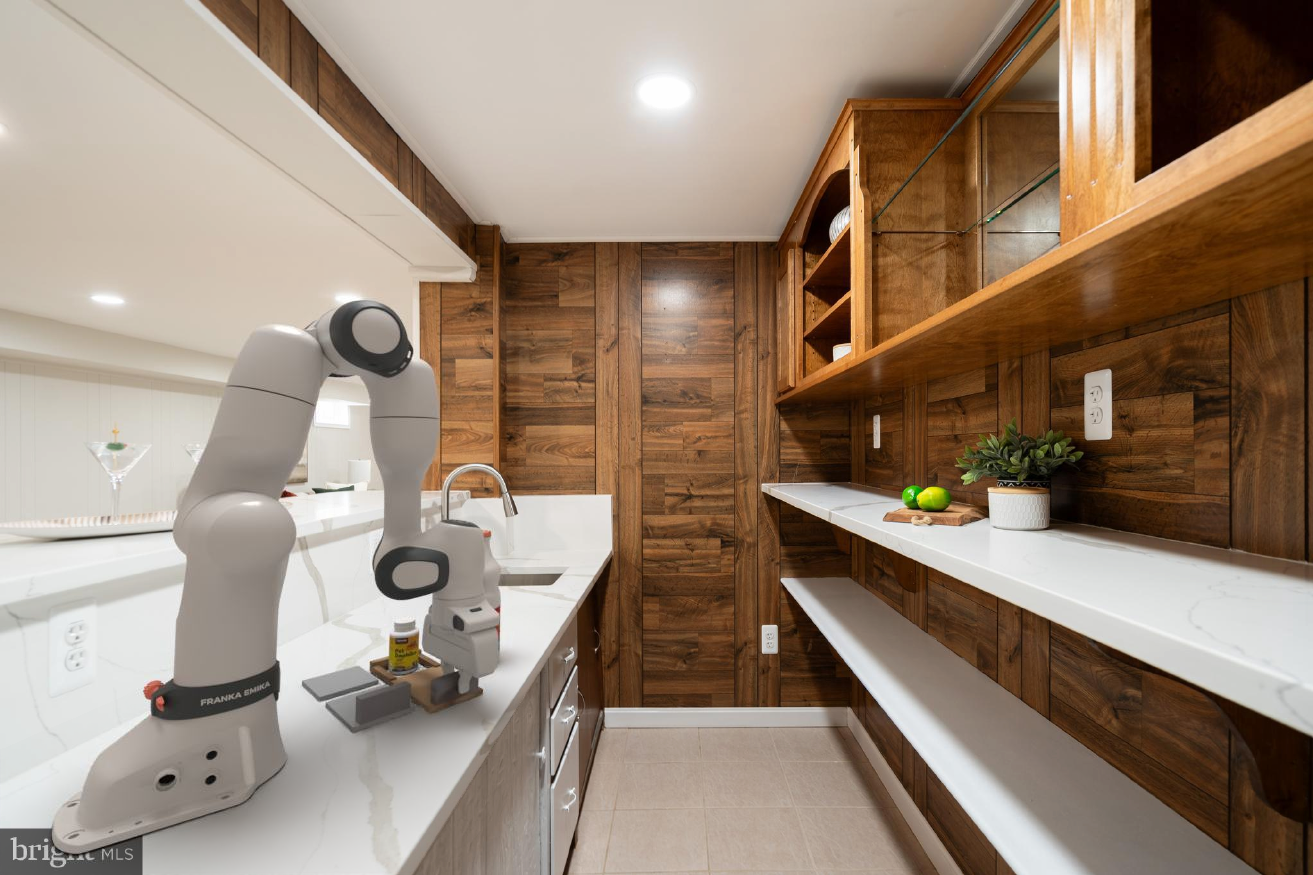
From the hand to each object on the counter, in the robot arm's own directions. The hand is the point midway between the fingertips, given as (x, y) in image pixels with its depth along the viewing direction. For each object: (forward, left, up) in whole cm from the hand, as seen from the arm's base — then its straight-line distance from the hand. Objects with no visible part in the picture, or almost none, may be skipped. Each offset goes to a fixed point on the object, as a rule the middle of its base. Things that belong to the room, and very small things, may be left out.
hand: (456, 688), depth 94 cm
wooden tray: (0, +13, -3) cm, 14 cm away
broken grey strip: (-11, +17, -3) cm, 20 cm away
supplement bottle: (0, +22, -3) cm, 22 cm away
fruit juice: (+12, +14, -3) cm, 19 cm away
